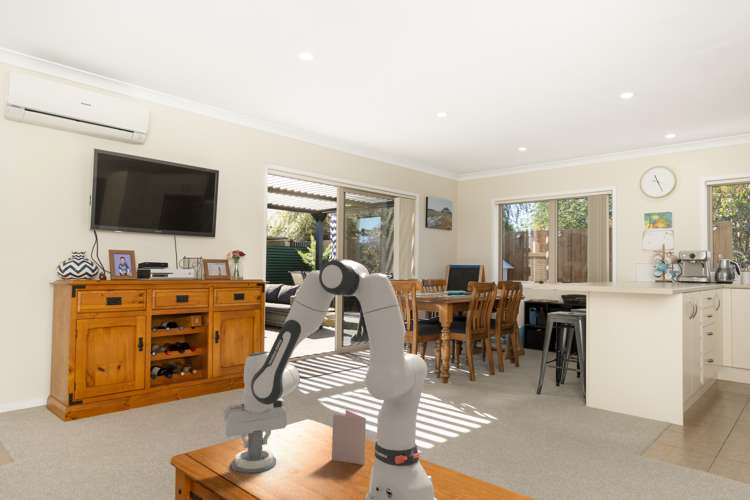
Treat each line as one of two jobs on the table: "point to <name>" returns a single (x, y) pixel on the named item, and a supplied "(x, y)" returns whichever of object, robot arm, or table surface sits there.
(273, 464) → the ring dish
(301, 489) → the table surface
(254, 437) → the grey cylinder
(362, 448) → the greeting card
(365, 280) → the robot arm
